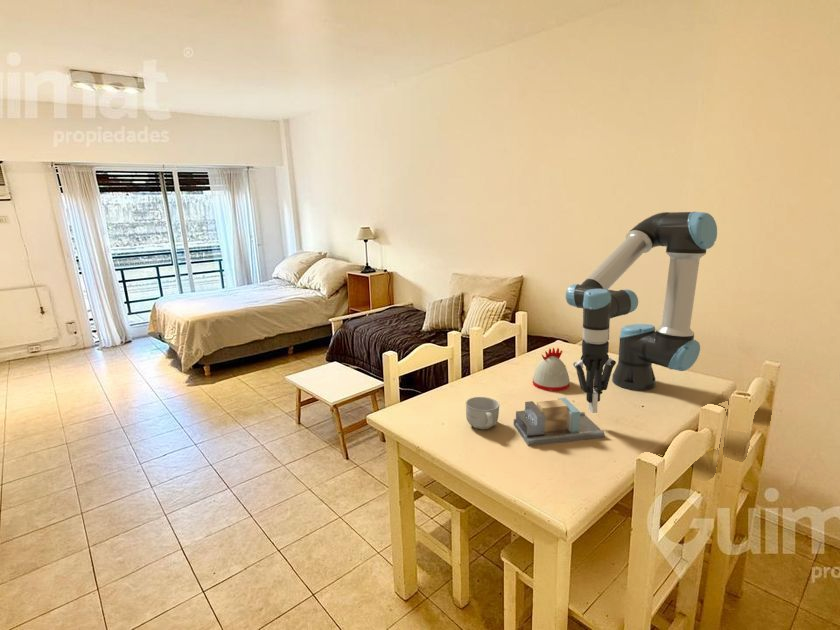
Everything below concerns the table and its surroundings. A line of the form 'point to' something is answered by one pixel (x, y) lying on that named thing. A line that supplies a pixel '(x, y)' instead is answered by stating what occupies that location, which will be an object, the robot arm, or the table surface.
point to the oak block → (554, 414)
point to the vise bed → (566, 433)
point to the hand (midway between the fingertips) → (592, 410)
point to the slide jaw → (572, 416)
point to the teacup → (482, 412)
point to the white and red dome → (551, 373)
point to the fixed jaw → (531, 420)
